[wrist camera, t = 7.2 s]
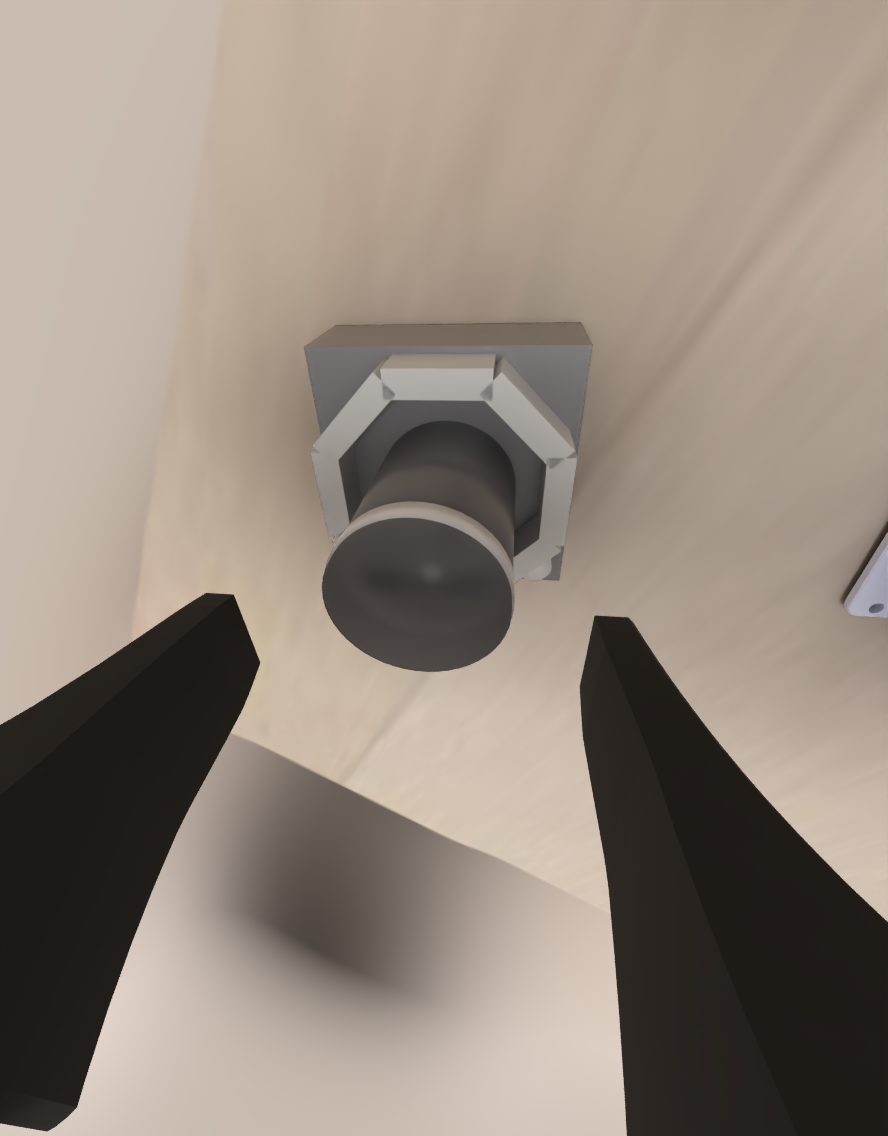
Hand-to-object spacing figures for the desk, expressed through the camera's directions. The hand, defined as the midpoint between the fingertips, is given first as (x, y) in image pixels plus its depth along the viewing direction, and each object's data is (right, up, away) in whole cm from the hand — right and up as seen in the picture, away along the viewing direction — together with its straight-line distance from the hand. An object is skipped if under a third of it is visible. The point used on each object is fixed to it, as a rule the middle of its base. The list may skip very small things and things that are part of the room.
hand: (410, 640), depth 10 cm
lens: (+1, +4, +6) cm, 7 cm away
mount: (+1, +6, +8) cm, 10 cm away
